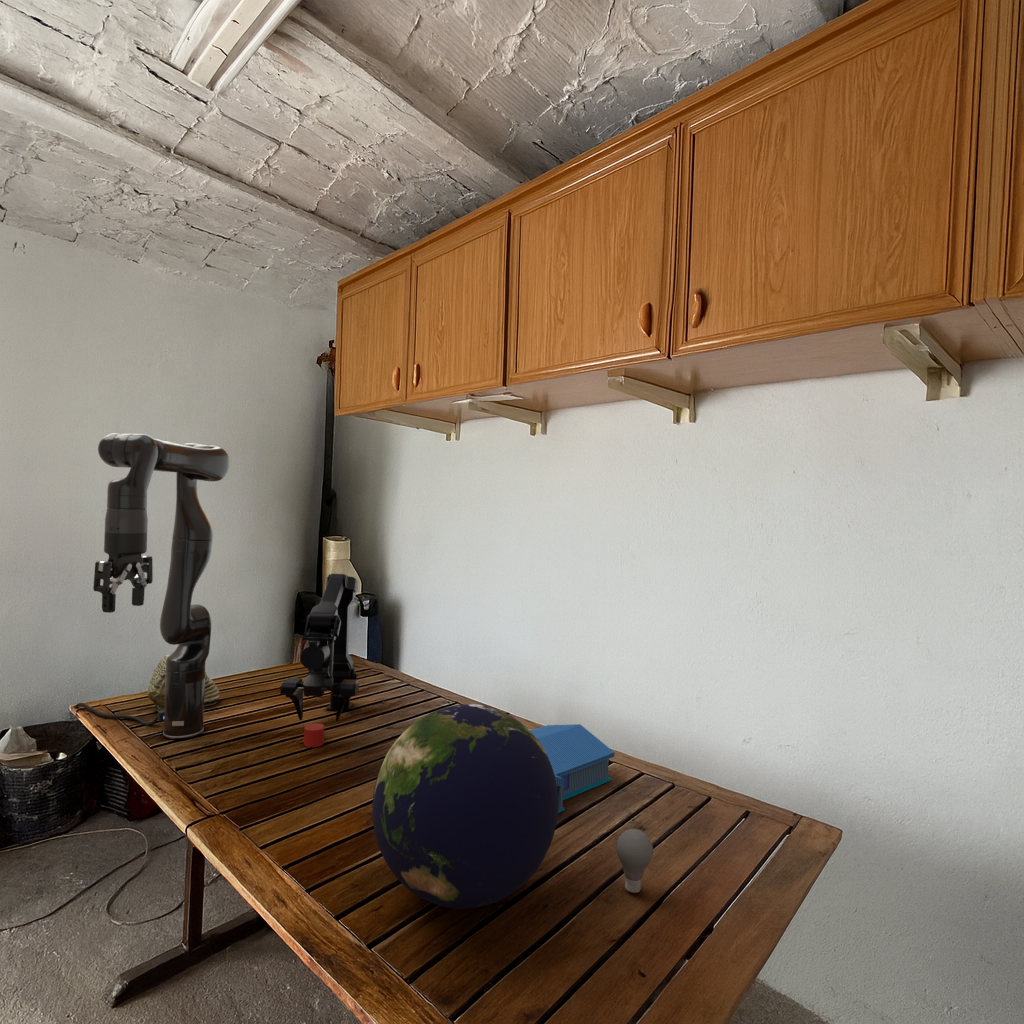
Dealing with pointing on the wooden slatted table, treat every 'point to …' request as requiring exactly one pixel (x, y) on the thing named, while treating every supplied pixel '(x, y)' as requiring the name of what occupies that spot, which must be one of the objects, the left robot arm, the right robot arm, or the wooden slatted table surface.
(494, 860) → the globe
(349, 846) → the wooden slatted table surface
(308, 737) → the canister
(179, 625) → the left robot arm
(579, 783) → the model building
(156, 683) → the fossil
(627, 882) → the light bulb
